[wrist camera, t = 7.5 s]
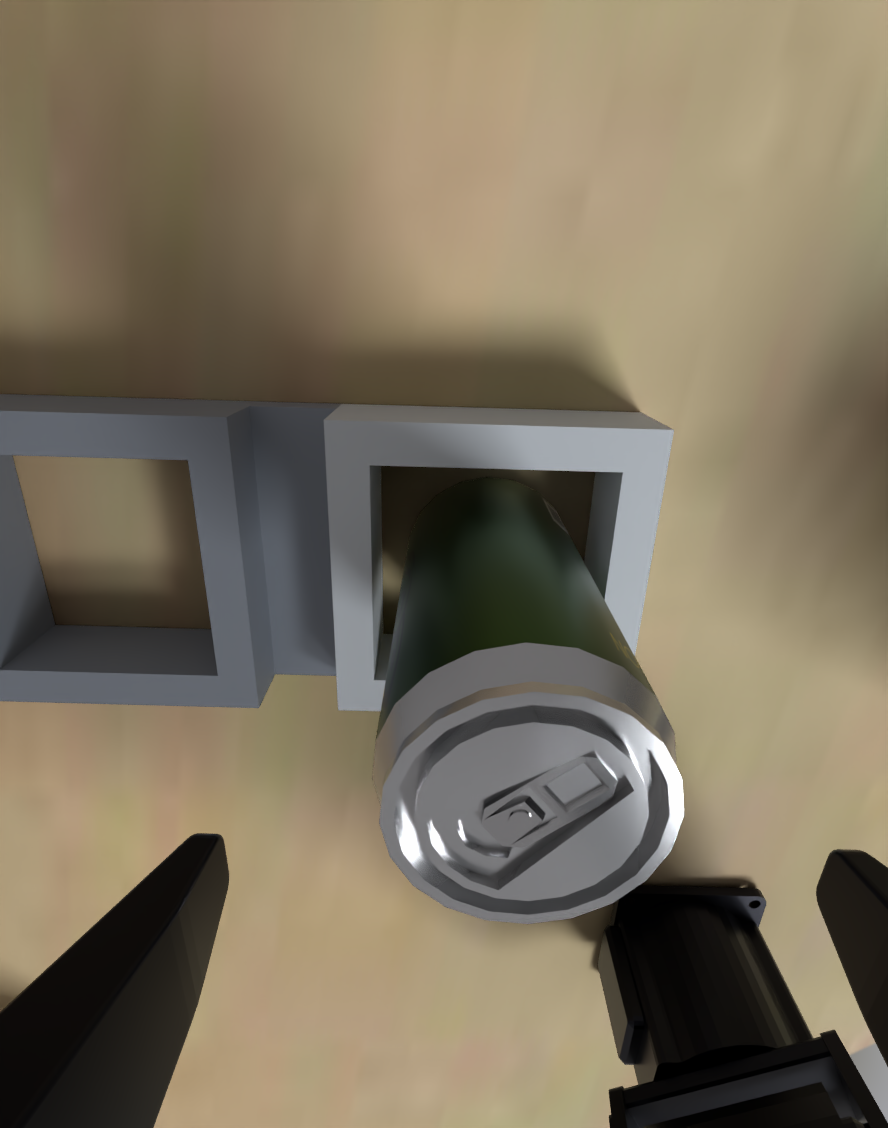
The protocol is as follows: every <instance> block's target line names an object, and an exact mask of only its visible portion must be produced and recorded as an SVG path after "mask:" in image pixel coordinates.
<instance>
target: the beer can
mask: <svg viewBox="0 0 888 1128" xmlns="http://www.w3.org/2000/svg"><path fill="white" fill-rule="evenodd" d="M372 780H373V783H374V786H375V789H376V793H377V796H378V799H379V802H380V806H381V811H380V821H379V824H380V827H381V830H382V833H383V836H384V839H385V843H386V846H387V849H388V852H389V855H390V858H391V859H392V860H393V861H394V862H395V864H396V865H397V866H398V867H399V869H400V870H401V871H402V872H403V874H404V875H405V876H406V877H407V879H408V880H409V881H410V882H411V884H412V885H413V886H414V887H416V888H417V889H419V890H421V891H422V892H424V893H425V894H427V895H428V896H430V897H431V898H433V899H434V900H436V901H437V902H439V903H440V904H442V905H443V906H445V907H447V908H450V909H453V910H456V911H459V912H462V913H465V914H468V915H471V916H474V917H477V918H480V919H483V920H489V921H501V922H512V923H523V924H532V923H540V922H547V921H555V920H563V919H570V918H574V917H577V916H579V915H582V914H585V913H588V912H590V911H593V910H596V909H599V908H601V907H604V906H607V905H610V904H612V903H614V902H615V901H617V900H618V899H620V898H621V897H623V896H624V895H626V894H627V893H629V892H630V891H632V890H633V889H635V888H636V887H638V886H639V885H641V884H642V883H643V882H645V881H646V880H647V879H648V878H649V877H650V876H651V874H652V873H653V872H654V871H655V870H656V868H657V867H658V866H659V865H660V864H661V862H662V861H663V860H664V859H665V858H666V856H667V855H668V854H669V853H670V852H671V850H672V848H673V845H674V842H675V840H676V837H677V834H678V831H679V829H680V826H681V823H682V820H683V818H684V801H683V783H682V777H681V775H680V773H679V771H678V769H677V766H676V749H675V733H674V731H673V729H672V727H671V725H670V723H669V721H668V719H667V717H666V715H665V713H664V711H663V709H662V707H661V705H660V703H659V701H658V699H657V697H656V695H655V693H654V691H653V689H652V688H651V686H650V684H649V682H648V680H647V678H646V676H645V675H644V673H643V671H642V669H641V667H640V665H639V663H638V662H637V660H636V658H635V656H634V654H633V652H632V650H631V649H630V647H629V645H628V643H627V641H626V639H625V637H624V636H623V634H622V632H621V630H620V628H619V626H618V625H617V623H616V621H615V619H614V617H613V615H612V613H611V612H610V610H609V608H608V606H607V604H606V602H605V600H604V599H603V597H602V595H601V593H600V591H599V589H598V587H597V586H596V584H595V582H594V580H593V578H592V576H591V574H590V573H589V571H588V569H587V567H586V565H585V563H584V561H583V560H582V558H581V556H580V554H579V552H578V550H577V548H576V547H575V545H574V543H573V541H572V539H571V537H570V535H569V534H568V532H567V530H566V528H565V526H564V524H563V522H562V521H561V519H560V517H559V515H558V513H557V511H556V509H555V508H554V507H553V506H552V505H551V504H550V503H549V502H548V501H547V500H546V499H544V498H543V497H542V496H541V495H540V494H539V493H538V492H537V491H535V490H533V489H531V488H529V487H527V486H525V485H522V484H520V483H518V482H516V481H514V480H506V479H498V478H490V477H485V478H480V479H475V480H470V481H464V482H460V483H458V484H456V485H455V486H453V487H451V488H449V489H447V490H445V491H443V492H442V493H440V494H438V495H437V496H436V497H435V498H434V499H433V500H432V501H431V502H430V503H429V504H428V505H427V506H426V507H425V508H424V509H423V510H422V511H421V512H420V514H419V516H418V518H417V520H416V523H415V525H414V527H413V529H412V531H411V533H410V536H409V542H408V548H407V554H406V560H405V566H404V572H403V578H402V584H401V590H400V596H399V602H398V609H397V615H396V621H395V627H394V633H393V639H392V645H391V651H390V657H389V663H388V669H387V675H386V682H385V688H384V694H383V700H382V706H381V712H380V718H379V724H378V730H377V736H376V744H375V754H374V765H373V775H372Z"/></svg>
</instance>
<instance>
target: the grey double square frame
mask: <svg viewBox="0 0 888 1128" xmlns="http://www.w3.org/2000/svg"><path fill="white" fill-rule="evenodd" d="M673 433H674V430H673V429H671V428H669V427H668V426H666V425H664V424H662V423H660V422H658V421H656V420H655V419H653V418H651V417H649V416H647V415H645V414H643V413H642V412H612V411H577V410H542V409H507V408H472V407H437V406H402V405H367V404H332V403H297V402H262V401H227V400H193V399H158V398H123V397H88V396H53V395H18V394H0V701H16V702H53V703H91V704H128V705H165V706H202V707H240V708H259V707H260V705H261V703H262V700H263V698H264V696H265V694H266V692H267V690H268V688H269V686H270V684H271V682H272V679H273V677H274V675H275V674H290V675H327V676H336V677H337V697H338V710H351V711H381V706H382V700H383V694H384V688H385V682H386V675H387V669H388V663H389V657H390V651H391V645H392V639H393V634H383V570H382V498H381V466H411V467H447V468H482V469H518V470H553V471H588V472H595V479H594V487H593V495H592V503H591V511H590V518H589V526H588V534H587V542H586V550H585V558H584V563H585V565H586V567H587V569H588V571H589V573H590V574H591V576H592V578H593V580H594V582H595V584H596V586H597V587H598V589H599V591H600V593H601V595H602V597H603V599H604V600H605V602H606V604H607V606H608V608H609V610H610V612H611V613H612V615H613V617H614V619H615V621H616V623H617V625H618V626H619V628H620V630H621V632H622V634H623V636H624V637H625V639H626V641H627V643H628V645H629V647H630V649H631V650H632V652H633V654H634V656H635V652H636V646H637V640H638V634H639V629H640V623H641V617H642V611H643V606H644V600H645V594H646V588H647V583H648V577H649V571H650V565H651V560H652V554H653V548H654V542H655V536H656V531H657V525H658V519H659V513H660V508H661V502H662V496H663V490H664V485H665V479H666V473H667V467H668V462H669V456H670V450H671V444H672V439H673ZM12 455H22V456H57V457H93V458H128V459H164V460H188V465H189V472H190V479H191V486H192V493H193V501H194V508H195V515H196V522H197V529H198V536H199V544H200V551H201V558H202V565H203V572H204V579H205V587H206V594H207V601H208V608H209V615H210V622H211V629H186V628H150V627H113V626H76V625H55V622H54V618H53V614H52V610H51V606H50V602H49V598H48V594H47V590H46V586H45V582H44V578H43V574H42V571H41V567H40V563H39V559H38V555H37V551H36V547H35V543H34V539H33V535H32V531H31V527H30V523H29V519H28V515H27V511H26V507H25V503H24V499H23V495H22V491H21V487H20V484H19V480H18V476H17V472H16V468H15V464H14V460H13V456H12Z"/></svg>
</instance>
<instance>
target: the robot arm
mask: <svg viewBox="0 0 888 1128" xmlns="http://www.w3.org/2000/svg"><path fill="white" fill-rule="evenodd" d="M228 885H229V870H228V863H227V857H226V851H225V844H224V840H223V837H222V836H221V835H219V834H204V833H197V834H194V835H192V836H190V837H189V838H188V839H187V840H186V841H184V842H183V843H182V844H181V845H180V846H179V847H178V848H177V849H176V850H175V851H174V852H173V853H171V854H170V855H169V856H168V857H167V858H166V859H165V860H164V861H163V862H162V863H161V864H160V865H159V866H157V867H156V868H155V869H154V870H153V871H152V872H151V873H150V874H149V875H148V876H147V877H146V878H144V879H143V880H142V881H141V882H140V883H139V884H138V885H137V886H136V887H135V888H134V889H133V890H131V891H130V892H129V893H128V894H127V895H126V896H125V897H124V898H123V899H122V900H121V901H120V902H119V903H117V904H116V905H115V906H114V907H113V908H112V909H111V910H110V911H109V912H108V913H107V914H106V915H104V916H103V917H102V918H101V919H100V920H99V921H98V922H97V923H96V924H95V925H94V926H93V927H92V928H90V929H89V930H88V931H87V932H86V933H85V934H84V935H83V936H82V937H81V938H80V939H79V940H77V941H76V942H75V943H74V944H73V945H72V946H71V947H70V948H69V949H68V950H67V951H66V952H65V953H63V954H62V955H61V956H60V957H59V958H58V959H57V960H56V961H55V962H54V963H53V964H52V965H50V966H49V967H48V968H47V969H46V970H45V971H44V972H43V973H42V974H41V975H40V976H39V977H38V978H36V979H35V980H34V981H33V982H32V983H31V984H30V985H29V986H28V987H27V988H26V989H25V990H23V991H22V992H21V993H20V994H19V995H18V996H17V997H16V998H15V999H14V1000H13V1001H12V1002H11V1003H9V1004H8V1005H7V1006H6V1007H5V1008H4V1009H3V1010H2V1011H1V1012H0V1128H153V1127H154V1124H155V1122H156V1119H157V1116H158V1113H159V1111H160V1108H161V1105H162V1102H163V1100H164V1097H165V1094H166V1091H167V1089H168V1086H169V1083H170V1081H171V1078H172V1075H173V1072H174V1070H175V1067H176V1064H177V1061H178V1059H179V1056H180V1053H181V1050H182V1048H183V1045H184V1042H185V1039H186V1037H187V1034H188V1031H189V1028H190V1026H191V1023H192V1020H193V1017H194V1014H195V1011H196V1008H197V1005H198V1002H199V998H200V994H201V991H202V987H203V983H204V980H205V976H206V972H207V968H208V964H209V960H210V956H211V952H212V949H213V945H214V941H215V937H216V933H217V929H218V925H219V921H220V918H221V914H222V910H223V906H224V902H225V898H226V894H227V890H228ZM816 896H817V902H818V905H819V908H820V911H821V913H822V916H823V918H824V921H825V923H826V926H827V928H828V931H829V933H830V936H831V938H832V941H833V943H834V946H835V948H836V951H837V953H838V956H839V958H840V961H841V963H842V966H843V968H844V971H845V973H846V976H847V978H848V981H849V983H850V986H851V988H852V991H853V993H854V996H855V998H856V1001H857V1003H858V1005H859V1008H860V1010H861V1012H862V1015H863V1017H864V1019H865V1021H866V1024H867V1026H868V1028H869V1030H870V1032H871V1034H872V1036H873V1038H874V1040H875V1042H876V1044H877V1046H878V1048H879V1050H880V1052H881V1054H882V1056H883V1058H884V1060H885V1062H886V1064H887V1066H888V868H887V867H886V866H885V865H883V864H882V863H880V862H879V861H878V860H876V859H875V858H873V857H872V856H871V855H869V854H867V853H866V852H863V851H860V850H841V849H837V850H833V851H832V852H831V853H830V854H829V856H828V858H827V861H826V864H825V866H824V869H823V872H822V874H821V877H820V879H819V882H818V885H817V890H816ZM765 906H766V900H765V899H764V897H763V895H762V893H761V891H760V890H758V889H754V888H720V887H682V886H643V885H639V886H638V887H636V888H635V889H633V890H632V891H630V892H629V893H627V894H626V895H624V896H623V897H621V898H620V899H618V900H617V901H615V902H614V907H613V912H612V917H611V923H610V925H608V926H607V927H606V929H605V930H604V934H603V939H602V944H601V950H600V955H599V960H598V969H599V973H600V978H601V982H602V986H603V991H604V995H605V1000H606V1004H607V1008H608V1013H609V1017H610V1022H611V1026H612V1030H613V1035H614V1039H615V1044H616V1048H617V1053H618V1057H619V1058H620V1060H621V1061H622V1062H623V1063H624V1064H625V1065H634V1069H635V1073H636V1077H637V1081H638V1085H636V1086H632V1087H629V1088H625V1089H624V1088H623V1086H620V1087H617V1088H613V1089H609V1098H610V1106H611V1115H609V1123H610V1128H888V1123H887V1121H886V1119H885V1117H884V1116H883V1114H882V1112H881V1110H880V1109H879V1107H878V1105H877V1103H876V1102H875V1100H874V1098H873V1096H872V1095H871V1093H870V1091H869V1089H868V1088H867V1086H866V1084H865V1082H864V1080H863V1079H862V1077H861V1075H860V1073H859V1072H858V1070H857V1068H856V1066H855V1065H854V1063H853V1061H852V1059H851V1058H850V1056H849V1054H848V1052H847V1051H846V1049H845V1047H844V1045H843V1043H842V1042H841V1040H840V1038H839V1036H838V1035H837V1033H836V1031H835V1030H831V1031H827V1032H823V1033H820V1035H821V1037H817V1038H813V1036H812V1034H811V1032H810V1030H809V1028H808V1026H807V1024H806V1022H805V1020H804V1018H803V1016H802V1014H801V1012H800V1010H799V1008H798V1006H797V1004H796V1002H795V1000H794V998H793V996H792V994H791V992H790V990H789V988H788V986H787V984H786V982H785V980H784V978H783V976H782V974H781V972H780V970H779V968H778V966H777V964H776V962H775V960H774V958H773V956H772V954H771V952H770V950H769V948H768V946H767V944H766V942H765V940H764V938H763V936H762V934H761V932H760V930H759V928H758V927H759V924H760V921H761V918H762V915H763V912H764V909H765Z"/></svg>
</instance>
